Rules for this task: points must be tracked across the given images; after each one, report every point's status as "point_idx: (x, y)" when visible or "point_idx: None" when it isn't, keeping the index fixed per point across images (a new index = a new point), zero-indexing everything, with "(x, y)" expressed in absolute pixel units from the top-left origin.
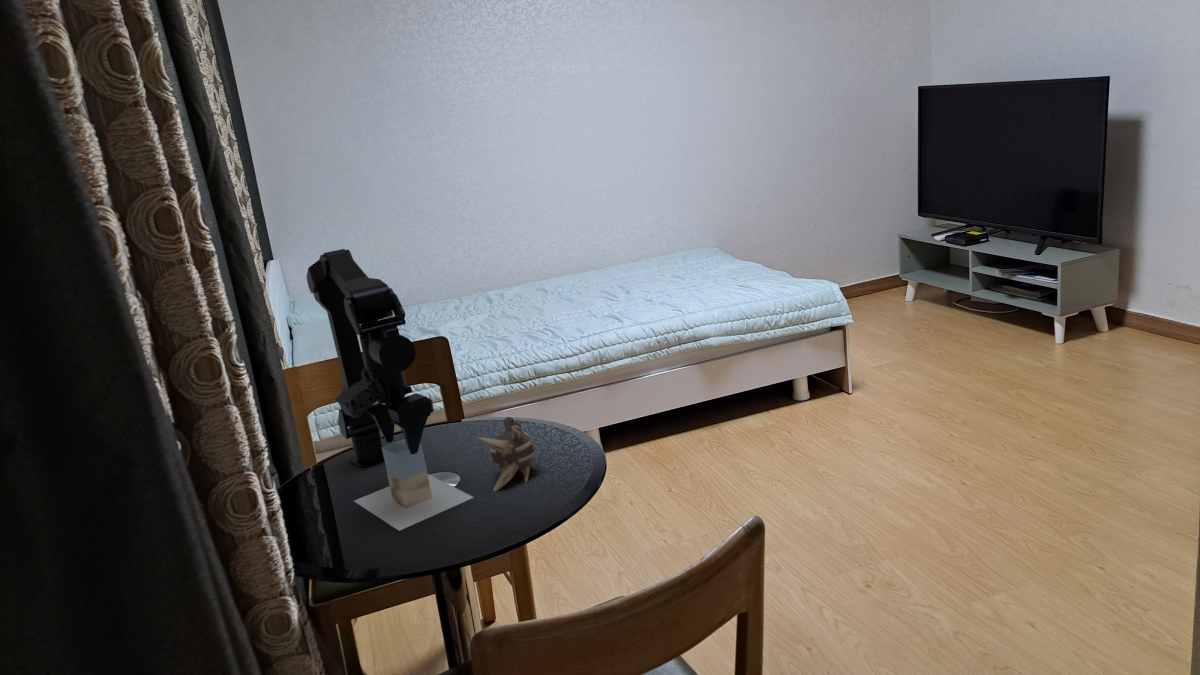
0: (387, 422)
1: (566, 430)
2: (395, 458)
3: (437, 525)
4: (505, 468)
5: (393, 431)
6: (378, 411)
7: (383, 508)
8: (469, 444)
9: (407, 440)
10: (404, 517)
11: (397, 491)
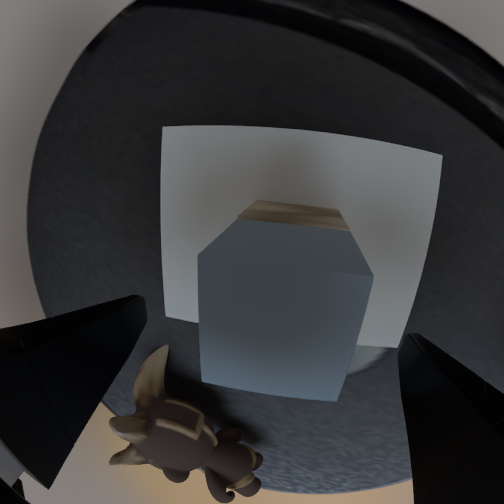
0: (432, 430)
1: (271, 489)
2: (209, 246)
3: (128, 200)
4: (143, 392)
5: (402, 398)
6: (487, 476)
7: (319, 165)
8: (396, 438)
9: (62, 314)
10: (211, 168)
11: (287, 211)
